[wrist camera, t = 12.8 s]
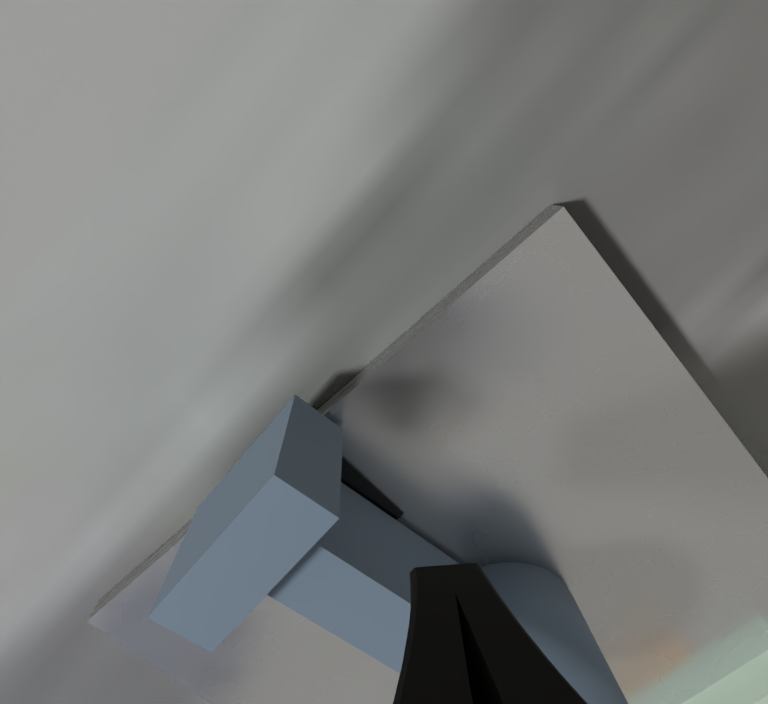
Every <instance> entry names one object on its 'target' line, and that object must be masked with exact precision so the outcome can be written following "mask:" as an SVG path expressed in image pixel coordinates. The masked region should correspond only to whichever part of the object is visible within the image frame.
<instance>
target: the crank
mask: <svg viewBox="0 0 768 704" xmlns="http://www.w3.org/2000/svg"><path fill="white" fill-rule="evenodd" d="M342 442H343V429H342V428H341V427H339V426H338V425H336V424H335V423H334V422H332V421H331V420H329V419H328V418H327V417H325V416H324V415H323V414H321V413H320V412H318V411H317V410H316V409H314V408H313V407H311V406H310V405H309V404H307V403H306V402H305V401H303V400H302V399H300V398H299V397H298V396H296V395H294V396H293V397H292V399H291V400H290V401H289V402H288V403H287V404H286V406H285V407H284V408H283V409H282V410H281V411H280V413H279V414H278V415H277V416H276V417H275V418H274V420H273V421H272V422H271V423H270V424H269V425H268V427H267V428H266V429H265V430H264V431H263V432H262V434H261V435H260V436H259V437H258V438H257V439H256V441H255V442H254V443H253V444H252V445H251V446H250V448H249V449H248V450H247V451H246V452H245V453H244V455H243V456H242V457H241V458H240V459H239V460H238V461H237V463H236V464H235V465H234V466H233V467H232V468H231V470H230V471H229V472H228V473H227V474H226V475H225V477H224V478H223V479H222V480H221V481H220V482H219V484H218V485H217V486H216V487H215V488H214V489H213V491H212V492H211V493H210V494H209V495H208V496H207V498H206V499H205V500H204V501H203V502H202V503H201V505H200V506H199V507H198V509H197V511H196V513H195V515H194V517H193V519H192V522H191V524H190V526H189V528H188V530H187V532H186V535H185V537H184V539H183V541H182V543H181V545H180V548H179V550H178V552H177V554H176V556H175V558H174V561H173V563H172V565H171V567H170V569H169V572H168V574H167V576H166V578H165V580H164V582H163V585H162V587H161V589H160V591H159V593H158V595H157V598H156V600H155V602H154V604H153V606H152V608H151V611H150V613H149V615H148V617H147V618H149V619H150V620H152V621H154V622H156V623H158V624H160V625H161V626H163V627H165V628H167V629H169V630H171V631H173V632H174V633H176V634H178V635H180V636H182V637H184V638H186V639H187V640H189V641H191V642H193V643H195V644H197V645H198V646H200V647H202V648H204V649H206V650H208V651H210V652H211V653H212V652H213V651H214V650H215V649H216V647H217V646H218V645H219V644H220V643H221V642H222V641H223V640H224V639H225V638H226V637H227V636H228V635H229V634H230V633H231V632H232V631H233V630H234V629H235V628H236V626H237V625H238V624H239V623H240V622H241V621H242V620H243V619H244V618H245V617H246V616H247V615H248V614H249V613H250V612H251V611H252V610H253V609H254V608H255V607H256V605H257V604H258V603H259V602H260V601H261V600H262V599H263V598H264V597H265V596H266V595H268V596H270V597H272V598H273V599H275V600H277V601H278V602H280V603H282V604H283V605H285V606H287V607H288V608H290V609H292V610H294V611H295V612H297V613H299V614H300V615H302V616H304V617H305V618H307V619H309V620H310V621H312V622H314V623H315V624H317V625H319V626H321V627H322V628H324V629H326V630H327V631H329V632H331V633H332V634H334V635H336V636H337V637H339V638H341V639H342V640H344V641H346V642H348V643H349V644H351V645H353V646H354V647H356V648H358V649H359V650H361V651H363V652H364V653H366V654H368V655H369V656H371V657H373V658H375V659H376V660H378V661H380V662H381V663H383V664H385V665H386V666H388V667H390V668H391V669H393V670H395V671H396V672H398V673H400V672H401V667H402V663H403V657H404V651H405V645H406V639H407V633H408V627H409V619H410V609H411V604H410V572H411V571H412V570H413V569H414V568H415V567H425V566H439V565H452V564H459V563H458V562H456V561H455V560H453V559H452V558H451V557H449V556H448V555H446V554H445V553H443V552H442V551H440V550H439V549H438V548H436V547H435V546H433V545H432V544H430V543H429V542H427V541H426V540H424V539H423V538H422V537H420V536H419V535H417V534H416V533H414V532H413V531H411V530H410V529H408V528H407V527H406V526H404V525H403V524H401V523H400V522H398V521H397V520H395V519H394V518H393V517H391V516H390V515H388V514H387V513H385V512H384V511H382V510H381V509H379V508H378V507H377V506H375V505H374V504H372V503H371V502H369V501H368V500H366V499H365V498H364V497H362V496H361V495H359V494H358V493H356V492H355V491H353V490H352V489H350V488H349V487H348V486H346V485H345V484H343V483H342V482H341V468H342ZM481 568H482V570H483V572H484V573H485V575H486V576H487V578H488V579H489V581H490V582H491V584H492V585H493V587H494V588H495V590H496V591H497V593H498V594H499V596H500V597H501V598H502V600H503V601H504V603H505V604H506V605H507V607H508V608H509V609H510V611H511V612H512V614H513V615H514V616H515V618H516V619H517V620H518V622H519V623H520V624H521V626H522V627H523V628H524V629H525V631H526V632H527V633H528V634H529V636H530V637H531V638H532V639H533V641H534V642H535V643H536V644H537V646H538V647H539V648H540V649H541V651H542V652H543V653H544V654H545V656H546V657H547V658H548V659H549V660H550V662H551V663H552V664H553V665H554V666H555V668H556V669H557V670H558V671H559V672H560V673H561V675H562V676H563V677H564V678H565V679H566V680H567V681H568V682H569V684H570V685H571V686H572V687H573V688H574V689H575V690H576V691H577V693H578V694H579V695H580V696H581V697H582V698H583V699H584V700H585V701H586V702H587V704H628V702H627V700H626V698H625V696H624V694H623V692H622V690H621V688H620V687H619V685H618V683H617V681H616V679H615V677H614V675H613V673H612V671H611V669H610V667H609V665H608V663H607V661H606V659H605V657H604V655H603V654H602V652H601V650H600V648H599V646H598V644H597V642H596V640H595V638H594V636H593V634H592V632H591V630H590V628H589V626H588V624H587V622H586V621H585V619H584V617H583V615H582V613H581V611H580V609H579V607H578V605H577V603H576V601H575V599H574V597H573V595H572V593H571V592H570V590H569V588H568V587H567V586H566V585H565V583H564V582H563V581H562V580H561V579H559V578H558V577H557V576H556V575H554V574H553V573H551V572H549V571H547V570H545V569H543V568H541V567H538V566H534V565H531V564H525V563H515V562H507V563H497V564H490V565H487V566H483V567H481Z"/></svg>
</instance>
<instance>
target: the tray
mask: <svg viewBox="0 0 768 704" xmlns="http://www.w3.org/2000/svg"><path fill="white" fill-rule="evenodd" d="M682 704H768V650H767V651H766V652H764V653H762V654H761V655H759V656H758V657H756V658H754V659H753V660H751V661H750V662H748V663H746V664H745V665H743V666H742V667H740V668H738V669H737V670H735V671H733V672H732V673H730V674H729V675H727V676H725V677H724V678H722V679H721V680H719V681H717V682H716V683H714V684H713V685H711V686H709V687H708V688H706V689H705V690H703V691H701V692H700V693H698V694H697V695H695V696H693V697H692V698H690V699H689V700H687V701H685V702H684V703H682Z"/></svg>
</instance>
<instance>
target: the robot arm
mask: <svg viewBox="0 0 768 704" xmlns="http://www.w3.org/2000/svg"><path fill="white" fill-rule="evenodd" d="M410 604H411V609H410V619H409V627H408V633H407V639H406V645H405V651H404V657H403V663H402V667H401V672H400V676H399V680H398V684H397V688H396V693H395V697H394V701H393V704H587V702H586V701H585V700H584V699H583V698H582V697H581V696H580V695H579V694H578V693H577V691H576V690H575V689H574V688H573V687H572V686H571V685H570V684H569V682H568V681H567V680H566V679H565V678H564V677H563V676H562V675H561V673H560V672H559V671H558V670H557V669H556V668H555V666H554V665H553V664H552V663H551V662H550V660H549V659H548V658H547V657H546V656H545V654H544V653H543V652H542V651H541V649H540V648H539V647H538V646H537V644H536V643H535V642H534V641H533V639H532V638H531V637H530V636H529V634H528V633H527V632H526V631H525V629H524V628H523V627H522V626H521V624H520V623H519V622H518V620H517V619H516V618H515V616H514V615H513V614H512V612H511V611H510V609H509V608H508V607H507V605H506V604H505V603H504V601H503V600H502V598H501V597H500V596H499V594H498V593H497V591H496V590H495V588H494V587H493V585H492V584H491V582H490V581H489V579H488V578H487V576H486V575H485V573H484V572H483V570H482V568H481V567H480V566H479V565H478V564H476V563H466V564H452V565H439V566H425V567H415V568H414V569H413V570H412V571H411V572H410Z"/></svg>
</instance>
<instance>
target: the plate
mask: <svg viewBox="0 0 768 704" xmlns="http://www.w3.org/2000/svg"><path fill="white" fill-rule="evenodd" d="M317 411H318V412H320V413H321V414H323V415H324V416H325V417H327V418H328V419H329V420H331V421H332V422H334V423H335V424H336V425H338V426H339V427H341V428H342V429H343V442H342V468H341V482H342V483H343V484H345V485H346V486H348V487H349V488H350V489H352V490H353V491H355V492H356V493H358V494H359V495H361V496H362V497H364V498H365V499H366V500H368V501H369V502H371V503H372V504H374V505H375V506H377V507H378V508H379V509H381V510H382V511H384V512H385V513H387V514H388V515H390V516H391V517H393V518H394V519H395V520H397V521H398V522H400V523H401V524H403V525H404V526H406V527H407V528H408V529H410V530H411V531H413V532H414V533H416V534H417V535H419V536H420V537H422V538H423V539H424V540H426V541H427V542H429V543H430V544H432V545H433V546H435V547H436V548H438V549H439V550H440V551H442V552H443V553H445V554H446V555H448V556H449V557H451V558H452V559H453V560H455V561H456V562H458V563H459V564H466V563H476V564H478V565H479V566H480V567H483V566H487V565H490V564H497V563H507V562H515V563H525V564H531V565H534V566H538V567H541V568H543V569H545V570H547V571H549V572H551V573H553V574H554V575H556V576H557V577H558V578H559V579H561V580H562V581H563V582H564V583H565V585H566V586H567V587H568V588H569V590H570V592H571V593H572V595H573V597H574V599H575V601H576V603H577V605H578V607H579V609H580V611H581V613H582V615H583V617H584V619H585V621H586V622H587V624H588V626H589V628H590V630H591V632H592V634H593V636H594V638H595V640H596V642H597V644H598V646H599V648H600V650H601V652H602V654H603V655H604V657H605V659H606V661H607V663H608V665H609V667H610V669H611V671H612V673H613V675H614V677H615V679H616V681H617V683H618V685H619V687H620V688H621V690H622V692H623V694H624V696H625V698H626V700H627V702H628V704H682V703H684V702H685V701H687V700H689V699H690V698H692V697H693V696H695V695H697V694H698V693H700V692H701V691H703V690H705V689H706V688H708V687H709V686H711V685H713V684H714V683H716V682H717V681H719V680H721V679H722V678H724V677H725V676H727V675H729V674H730V673H732V672H733V671H735V670H737V669H738V668H740V667H742V666H743V665H745V664H746V663H748V662H750V661H751V660H753V659H754V658H756V657H758V656H759V655H761V654H762V653H764V652H766V651H767V650H768V478H767V476H766V475H765V474H764V472H763V471H762V470H761V468H760V467H759V466H758V464H757V463H756V462H755V460H754V459H753V458H752V456H751V455H750V454H749V452H748V451H747V450H746V448H745V447H744V446H743V444H742V443H741V442H740V440H739V439H738V438H737V436H736V435H735V434H734V432H733V431H732V430H731V428H730V427H729V426H728V424H727V423H726V422H725V420H724V419H723V418H722V416H721V415H720V414H719V412H718V411H717V410H716V408H715V407H714V406H713V404H712V403H711V402H710V400H709V399H708V398H707V396H706V395H705V394H704V393H703V391H702V390H701V389H700V387H699V386H698V385H697V383H696V382H695V381H694V379H693V378H692V377H691V375H690V374H689V373H688V371H687V370H686V369H685V367H684V366H683V365H682V363H681V362H680V361H679V359H678V358H677V357H676V355H675V354H674V353H673V351H672V350H671V349H670V347H669V346H668V345H667V343H666V342H665V341H664V339H663V338H662V337H661V335H660V334H659V333H658V331H657V330H656V329H655V327H654V326H653V325H652V323H651V322H650V321H649V319H648V318H647V317H646V315H645V314H644V313H643V311H642V310H641V309H640V307H639V306H638V305H637V303H636V302H635V301H634V299H633V298H632V297H631V295H630V294H629V293H628V292H627V290H626V289H625V288H624V286H623V285H622V284H621V282H620V281H619V280H618V278H617V277H616V276H615V274H614V273H613V272H612V270H611V269H610V268H609V266H608V265H607V264H606V262H605V261H604V260H603V258H602V257H601V256H600V254H599V253H598V252H597V250H596V249H595V248H594V246H593V245H592V244H591V242H590V241H589V240H588V238H587V237H586V236H585V234H584V233H583V232H582V230H581V229H580V228H579V226H578V225H577V224H576V222H575V221H574V220H573V218H572V217H571V216H570V214H569V213H568V212H567V210H566V209H565V208H564V207H563V206H558V205H551V206H549V207H548V208H547V209H546V210H545V211H544V212H543V213H541V214H540V215H539V216H538V217H537V218H536V219H535V220H533V221H532V222H531V223H530V224H529V225H528V226H527V227H525V228H524V229H523V230H522V231H521V232H520V233H519V234H517V235H516V236H515V237H514V238H513V239H512V240H511V241H509V242H508V243H507V244H506V245H505V246H504V247H503V248H501V249H500V250H499V251H498V252H497V253H496V254H495V255H493V256H492V257H491V258H490V259H489V260H488V261H487V262H485V263H484V264H483V265H482V266H481V267H480V268H479V269H477V270H476V271H475V272H474V273H473V274H472V275H471V276H469V277H468V278H467V279H466V280H465V281H464V282H463V283H461V284H460V285H459V286H458V287H457V288H456V289H455V290H453V291H452V292H451V293H450V294H449V295H448V296H447V297H445V298H444V299H443V300H442V301H441V302H440V303H439V304H437V305H436V306H435V307H434V308H433V309H432V310H431V311H430V312H428V313H427V314H426V315H425V316H424V317H423V318H422V319H420V320H419V321H418V322H417V323H416V324H415V325H414V326H412V327H411V328H410V329H409V330H408V331H407V332H406V333H404V334H403V335H402V336H401V337H400V338H399V339H398V340H396V341H395V342H394V343H393V344H392V345H391V346H390V347H388V348H387V349H386V350H385V351H384V352H383V353H382V354H380V355H379V356H378V357H377V358H376V359H375V360H374V361H372V362H371V363H370V364H369V365H368V366H367V367H366V368H364V369H363V370H362V371H361V372H360V373H359V374H358V375H356V376H355V377H354V378H353V379H352V380H351V381H350V382H348V383H347V384H346V385H345V386H344V387H343V388H342V389H340V390H339V391H338V392H337V393H336V394H335V395H334V396H332V397H331V398H330V399H329V400H328V401H327V402H326V403H324V404H323V405H322V406H321V407H320V408H319V409H318V410H317ZM191 522H192V520H191V521H190V522H189V523H187V524H186V525H185V526H184V527H183V528H182V529H181V530H179V531H178V532H177V533H176V534H175V535H174V536H173V537H171V538H170V539H169V540H168V541H167V542H166V543H165V544H163V545H162V546H161V547H160V548H159V549H158V550H157V551H155V552H154V553H153V554H152V555H151V556H150V557H149V558H148V559H146V560H145V561H144V562H143V563H142V564H141V565H140V566H138V567H137V568H136V569H135V570H134V571H133V572H132V573H130V574H129V575H128V576H127V577H126V578H125V579H124V580H122V581H121V582H120V583H119V584H118V585H117V586H116V587H114V588H113V589H112V590H111V591H110V592H109V593H108V594H106V595H105V596H104V597H103V598H102V599H101V600H100V601H99V602H98V603H97V605H96V607H95V608H94V610H93V612H92V613H91V615H90V617H89V619H88V620H87V622H88V623H89V624H91V625H92V626H94V627H95V628H97V629H98V630H100V631H101V632H103V633H105V634H106V635H108V636H109V637H111V638H112V639H114V640H115V641H117V642H118V643H120V644H121V645H123V646H124V647H126V648H127V649H129V650H130V651H132V652H133V653H135V654H136V655H138V656H139V657H141V658H142V659H144V660H146V661H147V662H149V663H150V664H152V665H153V666H155V667H156V668H158V669H159V670H161V671H162V672H164V673H165V674H167V675H168V676H170V677H171V678H173V679H174V680H176V681H177V682H179V683H180V684H182V685H183V686H185V687H187V688H188V689H190V690H191V691H193V692H194V693H196V694H197V695H199V696H200V697H202V698H203V699H205V700H206V701H208V702H209V703H211V704H393V701H394V697H395V693H396V688H397V684H398V680H399V676H400V673H398V672H396V671H395V670H393V669H391V668H390V667H388V666H386V665H385V664H383V663H381V662H380V661H378V660H376V659H375V658H373V657H371V656H369V655H368V654H366V653H364V652H363V651H361V650H359V649H358V648H356V647H354V646H353V645H351V644H349V643H348V642H346V641H344V640H342V639H341V638H339V637H337V636H336V635H334V634H332V633H331V632H329V631H327V630H326V629H324V628H322V627H321V626H319V625H317V624H315V623H314V622H312V621H310V620H309V619H307V618H305V617H304V616H302V615H300V614H299V613H297V612H295V611H294V610H292V609H290V608H288V607H287V606H285V605H283V604H282V603H280V602H278V601H277V600H275V599H273V598H272V597H270V596H268V595H266V596H265V597H264V598H263V599H262V600H261V601H260V602H259V603H258V604H257V605H256V607H255V608H254V609H253V610H252V611H251V612H250V613H249V614H248V615H247V616H246V617H245V618H244V619H243V620H242V621H241V622H240V623H239V624H238V625H237V626H236V628H235V629H234V630H233V631H232V632H231V633H230V634H229V635H228V636H227V637H226V638H225V639H224V640H223V641H222V642H221V643H220V644H219V645H218V646H217V647H216V649H215V650H214V651H213V652H212V653H211V652H210V651H208V650H206V649H204V648H202V647H200V646H198V645H197V644H195V643H193V642H191V641H189V640H187V639H186V638H184V637H182V636H180V635H178V634H176V633H174V632H173V631H171V630H169V629H167V628H165V627H163V626H161V625H160V624H158V623H156V622H154V621H152V620H150V619H149V618H147V617H148V615H149V613H150V611H151V608H152V606H153V604H154V602H155V600H156V598H157V595H158V593H159V591H160V589H161V587H162V585H163V582H164V580H165V578H166V576H167V574H168V572H169V569H170V567H171V565H172V563H173V561H174V558H175V556H176V554H177V552H178V550H179V548H180V545H181V543H182V541H183V539H184V537H185V535H186V532H187V530H188V528H189V526H190V524H191Z"/></svg>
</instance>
